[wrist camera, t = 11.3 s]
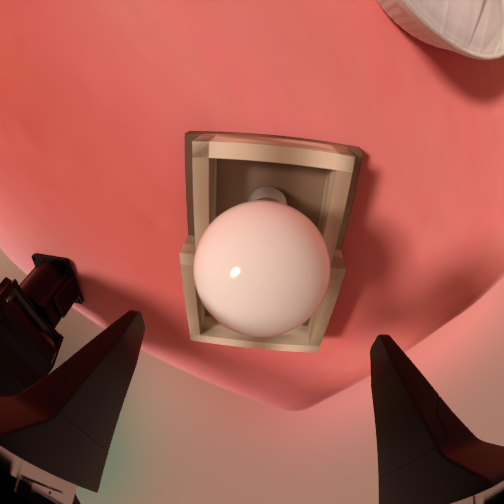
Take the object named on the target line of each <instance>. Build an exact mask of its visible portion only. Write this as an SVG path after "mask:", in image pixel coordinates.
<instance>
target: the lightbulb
mask: <svg viewBox="0 0 504 504" xmlns="http://www.w3.org/2000/svg"><path fill="white" fill-rule="evenodd" d="M193 273H194V281H195V286H196V289H197V292H198V295H199V297H200V299H201V301H202V303H203V305H204V306H205V308H206V309H207V311H208V312H209V313H210V314H211V315H212V316H213V317H214V318H215V319H216V320H217V321H218V322H219V323H221V324H222V325H223V326H225V327H226V328H228V329H230V330H232V331H234V332H236V333H239V334H242V335H246V336H251V337H273V336H278V335H282V334H285V333H287V332H290V331H292V330H294V329H296V328H298V327H299V326H301V325H302V324H303V323H305V322H306V321H307V320H308V319H309V318H310V317H311V316H312V315H313V314H314V313H315V312H316V310H317V309H318V308H319V306H320V305H321V303H322V301H323V299H324V297H325V295H326V292H327V289H328V286H329V281H330V273H331V265H330V257H329V252H328V249H327V245H326V243H325V241H324V238H323V236H322V235H321V233H320V231H319V230H318V228H317V227H316V226H315V225H314V223H313V222H312V221H311V220H310V219H309V218H308V217H306V216H305V215H304V214H303V213H301V212H300V211H298V210H297V209H295V208H293V207H291V206H289V205H287V201H286V198H285V196H284V194H283V193H282V192H281V191H279V190H278V189H276V188H273V187H261V188H258V189H256V190H255V191H254V192H253V193H252V194H251V195H250V197H249V199H248V202H244V203H241V204H238V205H236V206H233V207H231V208H229V209H228V210H226V211H224V212H223V213H222V214H220V215H219V216H218V217H217V218H215V219H214V220H213V221H212V222H211V224H210V225H209V226H208V227H207V229H206V230H205V232H204V233H203V235H202V237H201V239H200V241H199V243H198V246H197V249H196V252H195V256H194V264H193Z"/></svg>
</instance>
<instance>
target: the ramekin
mask: <svg viewBox="0 0 504 504" xmlns="http://www.w3.org/2000/svg"><path fill="white" fill-rule="evenodd" d="M377 2H378V4H379V5H380V6H381V7H382V9H383V10H384V11H385V12H386V14H387V15H388V16H389V17H390V18H391V19H392V20H393V21H394V22H395V23H396V24H397V25H399V26H400V27H401V28H402V29H403V30H404V31H406V32H408V33H409V34H410V35H412V36H413V37H415V38H417V39H418V40H420V41H423V42H425V43H427V44H429V45H432V46H434V47H438V48H442V49H446V50H450V51H454V52H457V53H459V54H461V55H463V56H466V57H469V58H473V59H479V60H495V59H499V58H501V57H503V56H504V0H377Z"/></svg>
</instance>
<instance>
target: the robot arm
mask: <svg viewBox="0 0 504 504" xmlns="http://www.w3.org/2000/svg"><path fill="white" fill-rule="evenodd" d="M32 259H33V262H34V265H35V268H34V269H33V270H32V271H31V272H30V273H29V275H28V276H27V277H26V278H25V279H24V280H23V281H22V283H21V284H20V285H18V282H17V280H16V279H14V280H13V281H11V280H10V279H8V278H7V277H6V278H4V279H3V281H2V282H1V283H0V504H80V502H79V500H78V498H77V496H76V494H75V492H76V488H77V486H80V487H83V488H86V489H88V490H91V491H94V492H98V489H99V485H100V481H101V477H102V473H103V469H104V466H105V462H106V458H107V455H108V450H109V447H110V444H111V440H112V437H113V434H114V430H115V427H116V424H117V421H118V418H119V414H120V411H121V408H122V405H123V402H124V399H125V396H126V393H127V390H128V387H129V384H130V382H131V378H132V376H133V373H134V370H135V367H136V364H137V360H138V356H139V351H140V348H141V344H142V340H143V336H144V332H145V324H144V321H143V318H142V314H141V312H139V311H135V310H130V311H128V312H127V313H125V314H124V315H123V316H122V317H120V318H119V319H118V320H116V321H115V322H114V323H113V324H111V325H110V326H109V327H108V328H106V329H105V330H104V331H103V332H101V333H100V334H99V335H97V336H96V337H95V338H94V339H93V340H91V341H90V342H89V343H87V344H86V345H85V346H84V347H82V348H81V349H80V350H79V351H78V352H76V353H75V354H74V355H73V356H71V357H70V358H69V359H68V360H67V361H65V362H64V363H63V364H61V365H60V366H59V367H58V368H56V369H55V370H54V371H53V372H51V373H50V371H51V370H52V368H53V366H54V364H55V361H56V358H57V355H58V352H59V349H60V346H61V343H62V341H63V338H64V337H63V336H62V335H61V334H59V333H58V332H57V331H56V330H55V327H56V325H57V324H58V323H59V321H60V320H61V318H64V317H65V315H66V314H67V312H68V311H69V309H70V308H71V307H72V305H73V304H74V303H78V304H82V303H83V302H84V299H83V297H82V294H81V292H80V289H79V287H78V284H77V282H76V279H75V276H74V273H73V271H72V268H71V265H70V262H69V261H68V260H67V259H65V258H59V257H53V256H47V255H41V254H33V255H32ZM6 299H7V300H8V302H7V301H6ZM370 360H371V389H372V397H373V406H374V414H375V424H376V436H377V451H378V473H379V504H504V447H503V446H499V445H495V444H491V443H487V442H484V441H481V440H480V439H478V438H477V437H476V436H474V434H473V433H472V432H471V431H470V430H469V429H468V428H467V427H466V426H465V425H464V424H463V423H462V422H461V421H460V419H459V418H458V417H457V416H456V415H455V414H454V413H453V412H452V411H451V409H450V408H449V407H448V406H447V405H446V403H445V402H444V401H443V400H442V398H441V397H439V395H438V393H437V392H436V391H435V390H434V388H433V387H432V386H431V385H430V384H429V382H428V381H427V380H426V378H425V377H424V376H423V375H422V374H421V372H420V371H419V370H418V369H417V367H416V366H415V365H414V364H413V363H412V361H411V360H410V359H409V358H408V357H407V356H406V354H405V353H404V352H403V351H402V350H401V348H400V347H399V346H398V345H397V344H396V343H395V341H394V340H393V339H392V338H391V337H390V336H389V335H378V336H377V338H376V340H375V342H374V343H373V345H372V347H371V350H370ZM49 373H50V374H49Z"/></svg>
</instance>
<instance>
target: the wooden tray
mask: <svg viewBox="0 0 504 504" xmlns="http://www.w3.org/2000/svg"><path fill="white" fill-rule="evenodd" d="M362 154H363V150H362V149H361V148H359V147H355V146H349V145H343V144H337V143H331V142H325V141H318V140H311V139H303V138H295V137H286V136H276V135H265V134H252V133H236V132H210V131H189V132H187V133H185V173H186V200H187V219H188V237H187V239H186V241H185V243H184V245H183V247H182V249H181V251H180V253H179V255H180V265H181V274H182V282H183V290H184V298H185V305H186V313H187V319H188V326H189V333H190V339H191V340H192V341H199V342H206V343H213V344H221V345H229V346H238V347H247V348H257V349H268V350H280V351H295V352H314V353H317V352H318V349H319V347H320V344H321V342H322V339H323V336H324V334H325V331H326V329H327V326H328V323H329V320H330V318H331V315H332V312H333V309H334V306H335V303H336V301H337V298H338V295H339V292H340V289H341V286H342V283H343V279H344V276H345V273H346V270H347V268H346V265H345V262H344V258H343V255H342V252H341V247H342V244H343V240H344V236H345V232H346V228H347V224H348V220H349V216H350V211H351V207H352V203H353V198H354V194H355V189H356V185H357V180H358V175H359V170H360V165H361V160H362ZM261 187H273V188H276V189H278V190H279V191H281V192H282V193H283V194H284V196H285V198H286V201H287V205H289V206H291V207H293V208H295V209H297V210H298V211H300V212H301V213H303V214H304V215H305V216H306V217H308V218H309V219H310V220H311V221H312V222H313V223H314V225H315V226H316V227H317V228H318V230H319V231H320V233H321V235H322V236H323V238H324V241H325V243H326V245H327V249H328V252H329V257H330V265H331V273H330V281H329V286H328V289H327V292H326V295H325V297H324V299H323V301H322V303H321V305H320V306H319V308H318V309H317V310H316V312H315V313H314V314H313V315H312V316H311V317H310V318H309V319H308V320H307V321H306V322H305V323H303V324H302V325H301V326H299V327H298V328H296V329H294V330H292V331H290V332H287V333H285V334H282V335H278V336H273V337H251V336H246V335H242V334H239V333H236V332H234V331H232V330H230V329H228V328H226V327H225V326H223V325H222V324H221V323H219V322H218V321H217V320H216V319H215V318H214V317H213V316H212V315H211V314H210V313H209V312H208V311H207V309H206V308H205V306H204V305H203V303H202V301H201V299H200V297H199V295H198V292H197V289H196V286H195V281H194V273H193V264H194V256H195V252H196V249H197V246H198V243H199V241H200V239H201V237H202V235H203V233H204V232H205V230H206V229H207V227H208V226H209V225H210V224H211V222H212V221H213V220H214V219H215V218H217V217H218V216H219V215H220V214H222V213H223V212H224V211H226V210H228V209H229V208H231V207H233V206H236V205H238V204H241V203H244V202H248V199H249V197H250V195H251V194H252V193H253V192H254V191H255V190H256V189H258V188H261Z"/></svg>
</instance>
